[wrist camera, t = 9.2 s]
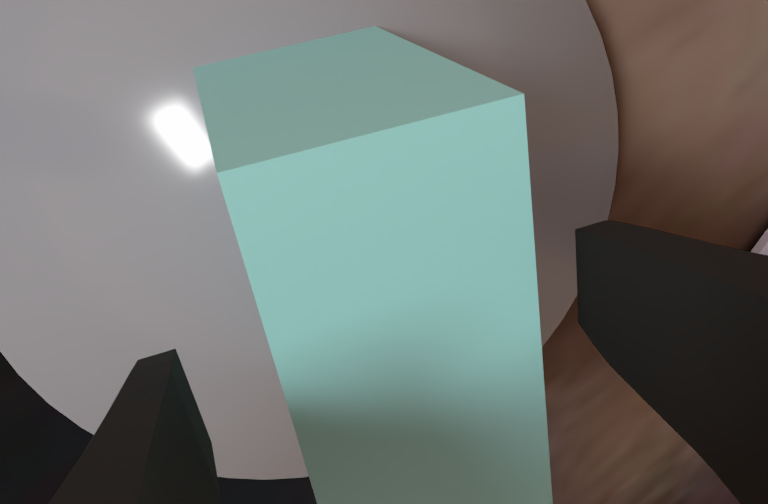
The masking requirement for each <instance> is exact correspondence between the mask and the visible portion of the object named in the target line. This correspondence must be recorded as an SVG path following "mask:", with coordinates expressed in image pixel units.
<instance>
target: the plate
mask: <svg viewBox="0 0 768 504" xmlns="http://www.w3.org/2000/svg"><path fill="white" fill-rule="evenodd" d="M373 26H377V27H379V28H381V29H383V30H385V31H387V32H390V33H392V34H394V35H396V36H398V37H401V38H403V39H405V40H407V41H409V42H412V43H414V44H416V45H418V46H420V47H423V48H425V49H427V50H429V51H431V52H434V53H436V54H438V55H440V56H442V57H445V58H447V59H449V60H451V61H453V62H456V63H458V64H460V65H462V66H464V67H467V68H469V69H471V70H473V71H475V72H478V73H480V74H482V75H484V76H486V77H489V78H491V79H493V80H495V81H497V82H500V83H502V84H504V85H506V86H508V87H511V88H513V89H515V90H517V91H519V92H521V93H524V98H525V112H526V127H527V141H528V156H529V170H530V185H531V199H532V213H533V228H534V242H535V257H536V271H537V286H538V300H539V315H540V329H541V343H542V347H543V345H544V344H545V343H546V341H547V340H548V339H549V337H550V336H551V335H552V333H553V332H554V331H555V329H556V328H557V327H558V325H559V324H560V323H561V321H562V320H563V318H564V317H565V315H566V313H567V312H568V310H569V308H570V306H571V305H572V303H573V301H574V300H575V298H576V296H577V269H576V242H575V229H578V228H581V227H584V226H588V225H591V224H594V223H598V222H601V221H605V220H607V221H608V217H609V212H610V208H611V203H612V199H613V194H614V189H615V182H616V172H617V162H618V151H619V145H618V110H617V104H616V97H615V90H614V83H613V77H612V72H611V68H610V65H609V61H608V58H607V54H606V51H605V47H604V44H603V40H602V37H601V34H600V32H599V29H598V27H597V25H596V23H595V20H594V18H593V16H592V13H591V11H590V9H589V7H588V4H587V2H586V0H0V352H1V353H2V354H3V355H4V357H5V358H6V359H7V360H8V362H9V363H10V364H11V366H12V367H13V368H14V369H15V371H16V372H17V373H18V374H19V376H20V377H22V378H23V379H24V380H25V381H26V382H27V383H28V384H29V385H30V386H31V387H32V388H33V389H34V390H35V391H36V392H37V393H38V394H39V395H40V396H41V397H42V398H43V399H44V400H45V401H46V402H48V403H49V404H50V405H51V406H53V407H54V408H55V409H57V410H58V411H59V412H61V413H62V414H63V415H65V416H66V417H68V418H69V419H70V420H72V421H73V422H74V423H76V424H77V425H78V426H80V427H81V428H83V429H85V430H86V431H88V432H90V433H92V434H95V432H96V431H97V429H98V427H99V426H100V424H101V423H102V421H103V419H104V418H105V416H106V414H107V412H108V411H109V409H110V407H111V405H112V404H113V402H114V400H115V398H116V397H117V395H118V393H119V391H120V389H121V388H122V386H123V384H124V382H125V380H126V379H127V377H128V375H129V374H130V372H131V370H132V369H133V367H134V365H135V364H136V362H137V360H139V359H143V358H146V357H149V356H153V355H156V354H159V353H163V352H166V351H169V350H173V349H176V351H177V354H178V356H179V359H180V361H181V364H182V367H183V369H184V372H185V374H186V377H187V380H188V382H189V385H190V387H191V390H192V393H193V395H194V398H195V400H196V403H197V406H198V408H199V411H200V413H201V416H202V419H203V421H204V424H205V426H206V429H207V432H208V434H209V437H210V439H211V442H212V448H213V454H214V460H215V466H216V472H217V476H218V477H225V478H241V479H261V480H266V479H284V478H301V477H307V476H309V475H308V472H307V468H306V465H305V462H304V458H303V455H302V452H301V449H300V445H299V442H298V439H297V435H296V432H295V429H294V425H293V422H292V419H291V416H290V412H289V409H288V406H287V402H286V399H285V396H284V393H283V389H282V386H281V383H280V379H279V376H278V373H277V370H276V366H275V363H274V360H273V356H272V353H271V350H270V347H269V343H268V340H267V337H266V333H265V330H264V327H263V324H262V320H261V317H260V314H259V310H258V307H257V304H256V301H255V297H254V294H253V291H252V287H251V284H250V281H249V278H248V274H247V271H246V268H245V264H244V261H243V258H242V254H241V251H240V248H239V245H238V241H237V238H236V235H235V231H234V228H233V225H232V222H231V218H230V215H229V212H228V208H227V205H226V202H225V199H224V195H223V192H222V189H221V185H220V182H219V179H218V176H217V172H216V168H215V163H214V159H213V155H212V150H211V146H210V141H209V137H208V133H207V128H206V124H205V120H204V115H203V111H202V106H201V102H200V98H199V93H198V89H197V85H196V80H195V76H194V71H193V68H194V67H198V66H202V65H207V64H211V63H215V62H220V61H224V60H229V59H233V58H237V57H242V56H246V55H250V54H255V53H259V52H264V51H268V50H272V49H277V48H281V47H285V46H290V45H294V44H299V43H303V42H307V41H312V40H316V39H320V38H325V37H329V36H334V35H338V34H342V33H347V32H351V31H355V30H360V29H364V28H369V27H373Z"/></svg>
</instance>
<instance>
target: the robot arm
mask: <svg viewBox="0 0 768 504" xmlns="http://www.w3.org/2000/svg"><path fill="white" fill-rule="evenodd" d="M575 242H576V269H577V296H578V323H579V324H580V326H581V327H582V329H583V330H584V331H585V333H586V334H587V336H588V337H589V338H590V340H591V341H592V343H593V344H594V345H595V347H596V348H597V349H598V351H599V352H600V353H601V354H602V356H603V357H604V358H605V360H606V361H607V362H608V363H609V365H610V366H611V367H612V368H613V369H614V370H615V371H616V372H617V373H618V374H619V375H620V376H621V377H622V378H623V379H624V380H625V381H626V382H627V383H628V384H629V385H630V386H631V387H632V388H633V389H634V390H635V391H636V392H637V393H638V394H639V395H640V396H641V397H642V398H643V399H644V400H645V401H646V402H647V403H648V404H649V405H650V406H651V407H652V408H653V409H654V410H655V411H656V412H657V413H658V414H659V415H660V416H661V417H662V418H663V419H664V420H665V421H666V422H667V423H668V424H669V425H670V426H671V427H672V428H673V429H674V430H675V431H676V432H677V433H678V434H679V435H680V436H681V437H682V438H683V439H684V440H685V441H686V442H687V443H688V444H689V445H690V446H691V447H692V448H693V449H694V450H695V451H696V452H697V453H698V454H699V455H700V456H701V457H702V458H703V460H704V461H705V462H706V463H707V464H708V465H709V466H710V467H711V468H712V469H713V470H714V472H715V473H716V474H717V475H718V477H719V478H720V479H721V480H722V481H723V483H724V484H725V485H726V486H727V488H728V489H729V490H730V491H731V493H732V494H733V495H734V496H735V497H736V499H737V500H738V501H739V502H740V504H768V228H767V230H766V231H765V232H764V234H763V235H762V237H761V238H760V239H759V241H758V242H757V243H756V245H755V246H754V247H753V249H752V250H751V252H748V251H743V250H739V249H734V248H729V247H725V246H721V245H716V244H712V243H708V242H704V241H699V240H695V239H691V238H687V237H683V236H679V235H675V234H670V233H666V232H662V231H658V230H654V229H650V228H645V227H641V226H636V225H632V224H627V223H621V222H615V221H607V220H605V221H601V222H598V223H594V224H591V225H588V226H584V227H581V228H578V229H575ZM48 504H221V502H220V491H219V485H218V478H217V472H216V466H215V460H214V454H213V448H212V442H211V439H210V437H209V434H208V432H207V429H206V426H205V424H204V421H203V419H202V416H201V413H200V411H199V408H198V406H197V403H196V400H195V398H194V395H193V393H192V390H191V387H190V385H189V382H188V380H187V377H186V374H185V372H184V369H183V367H182V364H181V361H180V359H179V356H178V354H177V351H176V349H173V350H169V351H166V352H163V353H159V354H156V355H153V356H149V357H146V358H143V359H139V360H137V362H136V364H135V365H134V367H133V369H132V370H131V372H130V374H129V375H128V377H127V379H126V380H125V382H124V384H123V386H122V388H121V389H120V391H119V393H118V395H117V397H116V398H115V400H114V402H113V404H112V405H111V407H110V409H109V411H108V412H107V414H106V416H105V418H104V419H103V421H102V423H101V424H100V426H99V427H98V429H97V431H96V432H95V434H94V436H93V437H92V439H91V441H90V442H89V444H88V446H87V447H86V449H85V451H84V452H83V454H82V455H81V457H80V458H79V460H78V461H77V463H76V464H75V466H74V467H73V468H72V470H71V471H70V473H69V474H68V476H67V477H66V479H65V480H64V482H63V483H62V485H61V486H60V488H59V489H58V491H57V492H56V493H55V495H54V496H53V498H52V499H51V500H50V502H49V503H48Z"/></svg>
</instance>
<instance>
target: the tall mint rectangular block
mask: <svg viewBox="0 0 768 504" xmlns="http://www.w3.org/2000/svg"><path fill="white" fill-rule="evenodd" d="M193 71H194V76H195V80H196V85H197V89H198V93H199V98H200V102H201V106H202V111H203V115H204V120H205V124H206V128H207V133H208V137H209V141H210V146H211V150H212V155H213V159H214V163H215V168H216V172H217V176H218V179H219V182H220V185H221V189H222V192H223V195H224V199H225V202H226V205H227V208H228V212H229V215H230V218H231V222H232V225H233V228H234V231H235V235H236V238H237V241H238V245H239V248H240V251H241V254H242V258H243V261H244V264H245V268H246V271H247V274H248V278H249V281H250V284H251V287H252V291H253V294H254V297H255V301H256V304H257V307H258V310H259V314H260V317H261V320H262V324H263V327H264V330H265V333H266V337H267V340H268V343H269V347H270V350H271V353H272V356H273V360H274V363H275V366H276V370H277V373H278V376H279V379H280V383H281V386H282V389H283V393H284V396H285V399H286V402H287V406H288V409H289V412H290V416H291V419H292V422H293V425H294V429H295V432H296V435H297V439H298V442H299V445H300V449H301V452H302V455H303V458H304V462H305V465H306V468H307V472H308V475H309V478H310V481H311V485H312V488H313V491H314V495H315V498H316V501H317V504H553V502H552V488H551V473H550V459H549V445H548V430H547V416H546V401H545V387H544V372H543V358H542V343H541V329H540V315H539V300H538V286H537V271H536V257H535V242H534V228H533V213H532V199H531V185H530V170H529V156H528V141H527V127H526V112H525V98H524V93H521V92H519V91H517V90H515V89H513V88H511V87H508V86H506V85H504V84H502V83H500V82H497V81H495V80H493V79H491V78H489V77H486V76H484V75H482V74H480V73H478V72H475V71H473V70H471V69H469V68H467V67H464V66H462V65H460V64H458V63H456V62H453V61H451V60H449V59H447V58H445V57H442V56H440V55H438V54H436V53H434V52H431V51H429V50H427V49H425V48H423V47H420V46H418V45H416V44H414V43H412V42H409V41H407V40H405V39H403V38H401V37H398V36H396V35H394V34H392V33H390V32H387V31H385V30H383V29H381V28H379V27H377V26H373V27H369V28H364V29H360V30H355V31H351V32H347V33H342V34H338V35H334V36H329V37H325V38H320V39H316V40H312V41H307V42H303V43H299V44H294V45H290V46H285V47H281V48H277V49H272V50H268V51H264V52H259V53H255V54H250V55H246V56H242V57H237V58H233V59H229V60H224V61H220V62H215V63H211V64H207V65H202V66H198V67H194V68H193Z"/></svg>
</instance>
